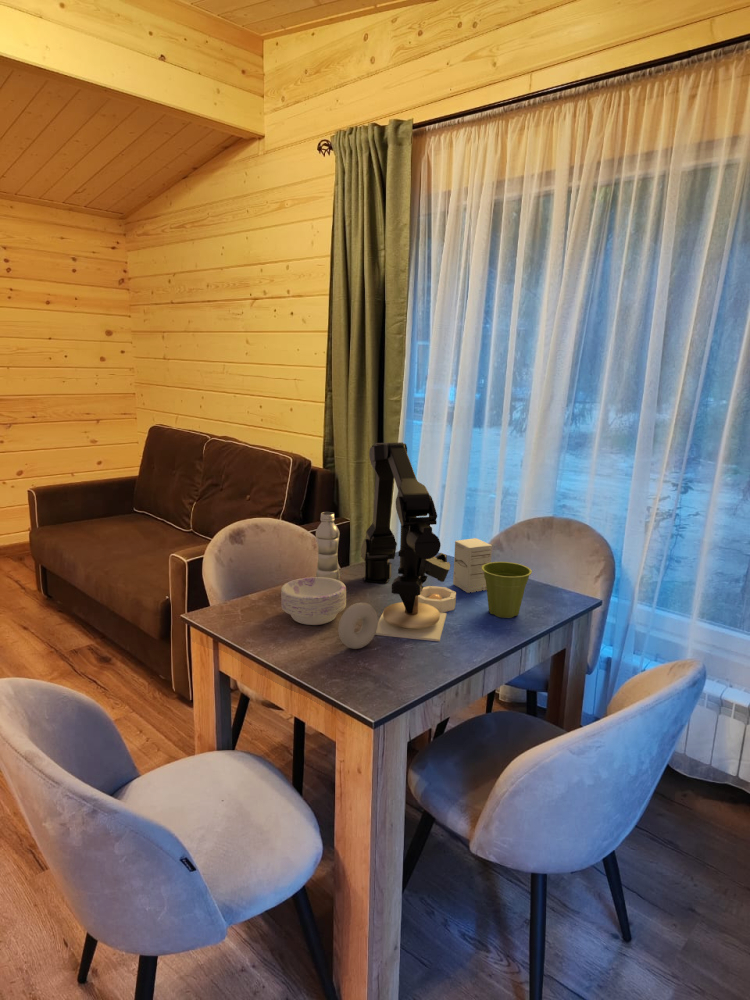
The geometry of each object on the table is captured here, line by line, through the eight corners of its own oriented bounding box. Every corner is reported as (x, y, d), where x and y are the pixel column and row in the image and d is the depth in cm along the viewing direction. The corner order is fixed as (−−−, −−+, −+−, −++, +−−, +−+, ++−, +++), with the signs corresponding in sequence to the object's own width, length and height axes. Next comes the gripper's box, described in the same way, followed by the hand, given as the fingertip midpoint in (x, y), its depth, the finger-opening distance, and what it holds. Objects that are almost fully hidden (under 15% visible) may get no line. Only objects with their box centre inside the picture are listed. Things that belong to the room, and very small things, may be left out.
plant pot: (538, 619, 151) (541, 574, 149) (492, 624, 148) (495, 578, 146) (513, 601, 162) (516, 559, 160) (471, 606, 159) (473, 563, 157)
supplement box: (452, 584, 174) (454, 540, 171) (474, 581, 177) (477, 537, 174) (466, 593, 168) (469, 547, 165) (490, 589, 171) (492, 544, 168)
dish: (412, 613, 156) (412, 598, 155) (418, 598, 166) (418, 584, 165) (452, 617, 154) (453, 602, 153) (456, 602, 164) (457, 588, 163)
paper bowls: (307, 601, 161) (307, 571, 159) (358, 614, 153) (358, 582, 152) (268, 621, 148) (267, 589, 146) (321, 636, 141) (321, 602, 139)
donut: (370, 638, 140) (371, 595, 138) (381, 643, 137) (381, 600, 135) (334, 651, 134) (334, 606, 131) (345, 657, 131) (345, 611, 129)
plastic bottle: (341, 581, 175) (341, 510, 171) (337, 590, 169) (337, 517, 164) (318, 580, 176) (317, 510, 172) (313, 588, 169) (313, 516, 165)
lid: (378, 624, 142) (378, 603, 141) (389, 603, 155) (389, 584, 154) (435, 630, 140) (436, 609, 139) (442, 608, 152) (443, 588, 151)
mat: (372, 634, 142) (372, 632, 142) (385, 609, 156) (385, 607, 156) (439, 641, 139) (439, 639, 139) (446, 615, 153) (446, 613, 153)
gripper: (444, 560, 133) (441, 630, 136) (452, 537, 151) (450, 599, 154) (391, 556, 135) (390, 625, 139) (406, 533, 153) (404, 594, 156)
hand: (411, 610), depth 147 cm, fingers closed on lid, 3 cm apart
